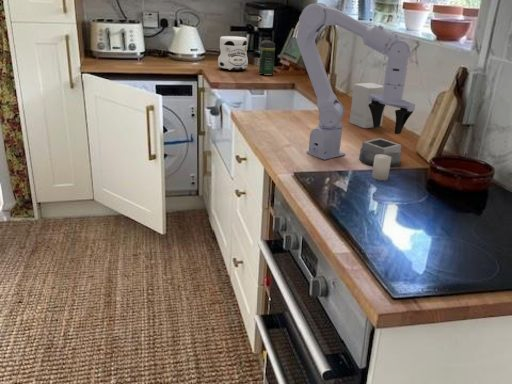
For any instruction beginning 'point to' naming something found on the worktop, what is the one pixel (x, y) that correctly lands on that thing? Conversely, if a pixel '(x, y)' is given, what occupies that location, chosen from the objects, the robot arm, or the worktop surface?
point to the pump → (381, 166)
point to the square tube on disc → (380, 151)
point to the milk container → (233, 53)
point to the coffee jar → (267, 57)
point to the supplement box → (363, 104)
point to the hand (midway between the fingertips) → (386, 130)
